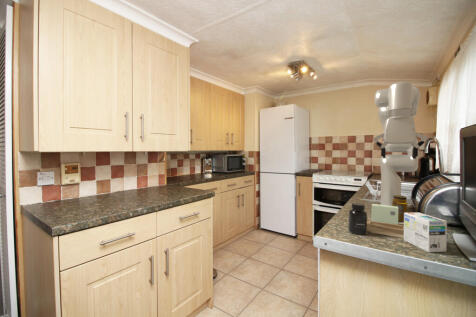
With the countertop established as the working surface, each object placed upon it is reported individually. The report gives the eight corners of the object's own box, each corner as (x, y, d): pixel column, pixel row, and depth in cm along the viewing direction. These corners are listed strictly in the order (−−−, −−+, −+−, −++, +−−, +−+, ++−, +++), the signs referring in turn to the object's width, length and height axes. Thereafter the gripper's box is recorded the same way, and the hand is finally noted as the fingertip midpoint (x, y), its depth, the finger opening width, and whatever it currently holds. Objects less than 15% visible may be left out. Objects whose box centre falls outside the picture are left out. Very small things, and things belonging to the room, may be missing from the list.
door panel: (371, 222, 105) (371, 203, 105) (397, 226, 100) (397, 206, 100) (371, 224, 102) (371, 205, 102) (397, 228, 97) (398, 208, 97)
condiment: (410, 221, 107) (411, 196, 106) (403, 224, 102) (403, 198, 101) (393, 217, 113) (394, 194, 112) (385, 220, 108) (386, 196, 108)
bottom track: (367, 226, 99) (367, 220, 99) (406, 232, 92) (406, 225, 92) (366, 231, 93) (366, 224, 93) (408, 238, 86) (408, 231, 86)
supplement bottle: (360, 236, 88) (360, 206, 88) (344, 231, 94) (345, 203, 94) (370, 233, 91) (371, 204, 91) (355, 228, 97) (355, 201, 97)
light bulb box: (447, 252, 74) (448, 220, 74) (428, 253, 74) (429, 221, 74) (418, 239, 85) (419, 211, 85) (402, 240, 85) (403, 212, 84)
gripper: (425, 114, 86) (424, 158, 87) (373, 117, 95) (372, 157, 95) (430, 111, 80) (429, 159, 80) (373, 115, 88) (373, 158, 89)
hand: (398, 158), depth 88 cm, fingers open, 9 cm apart
